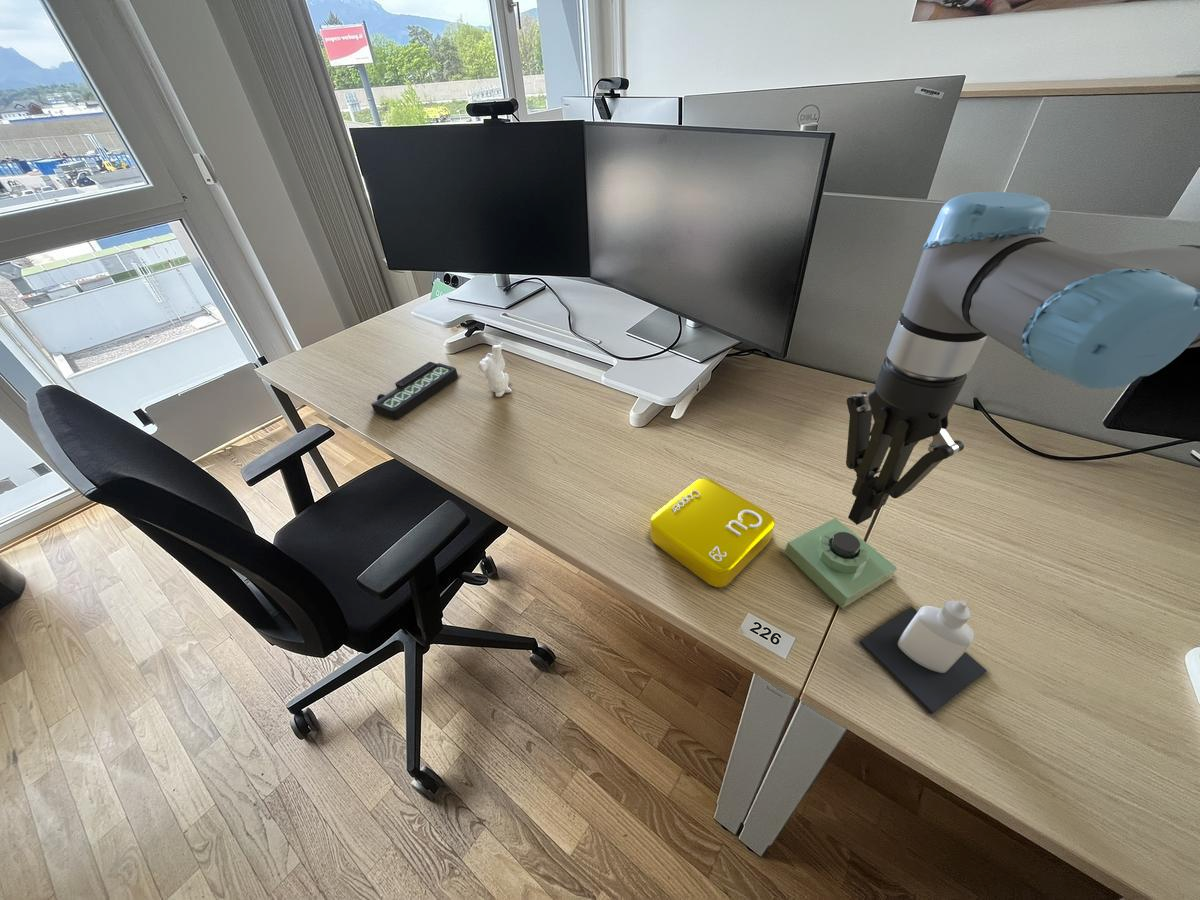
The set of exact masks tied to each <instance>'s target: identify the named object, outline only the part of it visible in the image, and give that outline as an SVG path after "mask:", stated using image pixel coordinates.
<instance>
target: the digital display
mask: <svg viewBox="0 0 1200 900" xmlns="http://www.w3.org/2000/svg"><path fill="white" fill-rule="evenodd" d="M457 379H459V374H458V370H457V368H456V367H454V366H450V365H447V364H443V363H441V362H437V363H436V362H432V361H428V362H426V363H424V364H423V365H422V366H420V367H419V368H417V369H416V370H414V371H412V372H411V373H409V374H407V375H406V376H404V377H403V378H401V379H400V380H398V381H396V382H395V383H394V385H395V387H396V388H395V389H393V390H391V391H390V392H388V393H387V394H384V393H379V394H378V395H377V397H376V401H374V402H373V403H371V407H372V410H373V411H374V413H376V414H379V415H382V416H384V417H387V418H389V419H392V420H394V421H397V420H398V421H399V420H400V419H401V418H402V417H404V416H406V415H407V414H409V413H410V412H411V411H413V410H414V409H416V408H417V407H419V406H420V405H422V404H423V403H424V402H426V401H427V400H428V399H430V398H432V397H433V396H434V395H435V394H437V393H439V392H440V391H442V390H443V389H444V388H446V387H448V386H449V385H450V384H452V383H453V382H454V381H456V380H457Z"/></svg>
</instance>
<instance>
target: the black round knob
mask: <svg viewBox="0 0 1200 900" xmlns="http://www.w3.org/2000/svg"><path fill="white" fill-rule="evenodd" d="M830 548H831V550H832V552H833V553H834V554H835V555H837V556H839V557H841V558H844V559H851V558H854V557H855V556H856V554H857V552H858V550H859V548H860V542H859V540H858V539H857V538H856V537H855V536H854V535H852V534H850V533H847V532H838V533H836V534H835V535H834V536H833V538H832V541H831V543H830Z"/></svg>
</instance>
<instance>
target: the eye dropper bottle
mask: <svg viewBox="0 0 1200 900" xmlns="http://www.w3.org/2000/svg"><path fill="white" fill-rule="evenodd" d="M971 615H972V614H971V610H970V609H969V607H968V601H966V600H964V599H960V600H953V599H951V600H948V601H946V602H945V603H944V605H943V606H942V607H937V606H932V605H923V606H922V607H920V608H919V610H917V614H916V615H915V616H914V618H913V619H912V620H911V622H910V623H909V625H908V626H907V628H906V629H905V630H904V632H903V633H902V635H901V637H900V639H899V641H898V646H899V648H900V649H901V650H902V651H903V652H904V653H905V654H906V655H907V656H908V657H909V658H911V659H912V660H913V661H915V662H916V663H918V664H920V665H921V666H923V667H925V668H928V669H930V670H933V671H936V672H940V673H945V672H946V671H948V670H949V669H950V667H951V666H952V665H953V664H954V663H955V662H956V661H957V660H958V659H959V658H960V657H961V656H962V654H963V653H964V652H966V651H967V650H968V649H969V648H970V647H971V645H972V643H973V642H974V639H975V631H974V630H973V629H972V628H971V626H970V625H969V624H967V623H966V622H968V620H969V619H970V618H971Z"/></svg>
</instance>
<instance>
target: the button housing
mask: <svg viewBox="0 0 1200 900" xmlns="http://www.w3.org/2000/svg"><path fill="white" fill-rule="evenodd" d="M838 532H847V533H850V534H852V535H854V536H855V537H856V538H857V539H858V540H859V542H860V548H859V550H858V552H857V554H856V556H855V557H854V558H851V559H844V558H841V557H839V556H837V555H835V554H834V553H833V552H832V550H831V548H830V543H831V541H832V538H833V536H834V535H835V534H836V533H838ZM784 555H785V556H786V557H787V558H788V559H790V560H791V561H792V563H794V564H795V565H796V566H797V567H798V568H799V569H800V570H801V571H802V572H803V573H804V574H805V575H806V576H807V577H809V579H810V580H812V582H813V583H815V585H816V586H818V588H820V589H821V591H823V593H825V594H826V595H827V596H828V597H829V598H830V599H831V600H832V601H834V603H835V604H837V606H839V608H841V609H844V608H845V607H847V606H849V605H851V604H852V603H854V602H856V601H857V600H858V599H860V598H861V597H863V596H866V595H867V594H868V593H870V592H871V591H873V590H875V589H876V588H878V587H879V586H881V585H883V584H885V583H886V582H888V581H889V580H891V579H892V578H893V576H894V574H895V572H896V570H897V569H898V567H897V566H896V565H895V564H894V563H892V562H891V561H890V560H889V559H888V558H886V557H884V555H882V554H881V553H880V552H879V551H877V550H876V549H875V548H873V547H872V546H871V545H870V544H869V543H867V542H866V541H865V540H863V539H862V538H861V537H860V536H858V535H857V534H856V533H855V532H854V531H853V530H851V529H850V528H848V527H847V526H846V525H845V524H843V523H842V522H841V521H840V520H838V518H836V517H834V518H832V519H830V520H828V521H825V523H822V524H820V525H819V526H817V527H815V528H813V529H811V530H809V531H808V532H805V533H804V534H801V535H800V536H798V537H796V538H795V539H792V540H790V541H788V542H787V544H786V547H785V550H784Z"/></svg>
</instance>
